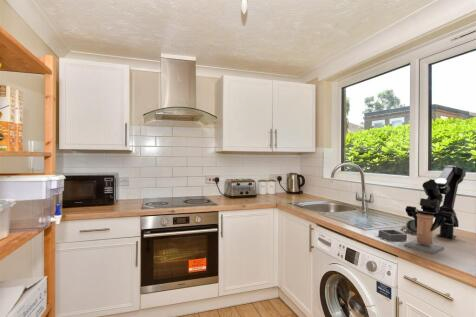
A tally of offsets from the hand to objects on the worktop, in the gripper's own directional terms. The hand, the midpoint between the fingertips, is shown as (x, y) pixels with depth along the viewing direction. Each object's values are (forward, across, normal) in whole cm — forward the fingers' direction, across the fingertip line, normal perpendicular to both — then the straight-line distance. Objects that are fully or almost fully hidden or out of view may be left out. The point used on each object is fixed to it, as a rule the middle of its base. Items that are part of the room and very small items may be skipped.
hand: (423, 229), depth 122 cm
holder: (+4, -15, +8) cm, 18 cm away
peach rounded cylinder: (+4, 0, +6) cm, 7 cm away
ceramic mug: (-12, -14, +25) cm, 31 cm away
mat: (+5, 0, +7) cm, 9 cm away
